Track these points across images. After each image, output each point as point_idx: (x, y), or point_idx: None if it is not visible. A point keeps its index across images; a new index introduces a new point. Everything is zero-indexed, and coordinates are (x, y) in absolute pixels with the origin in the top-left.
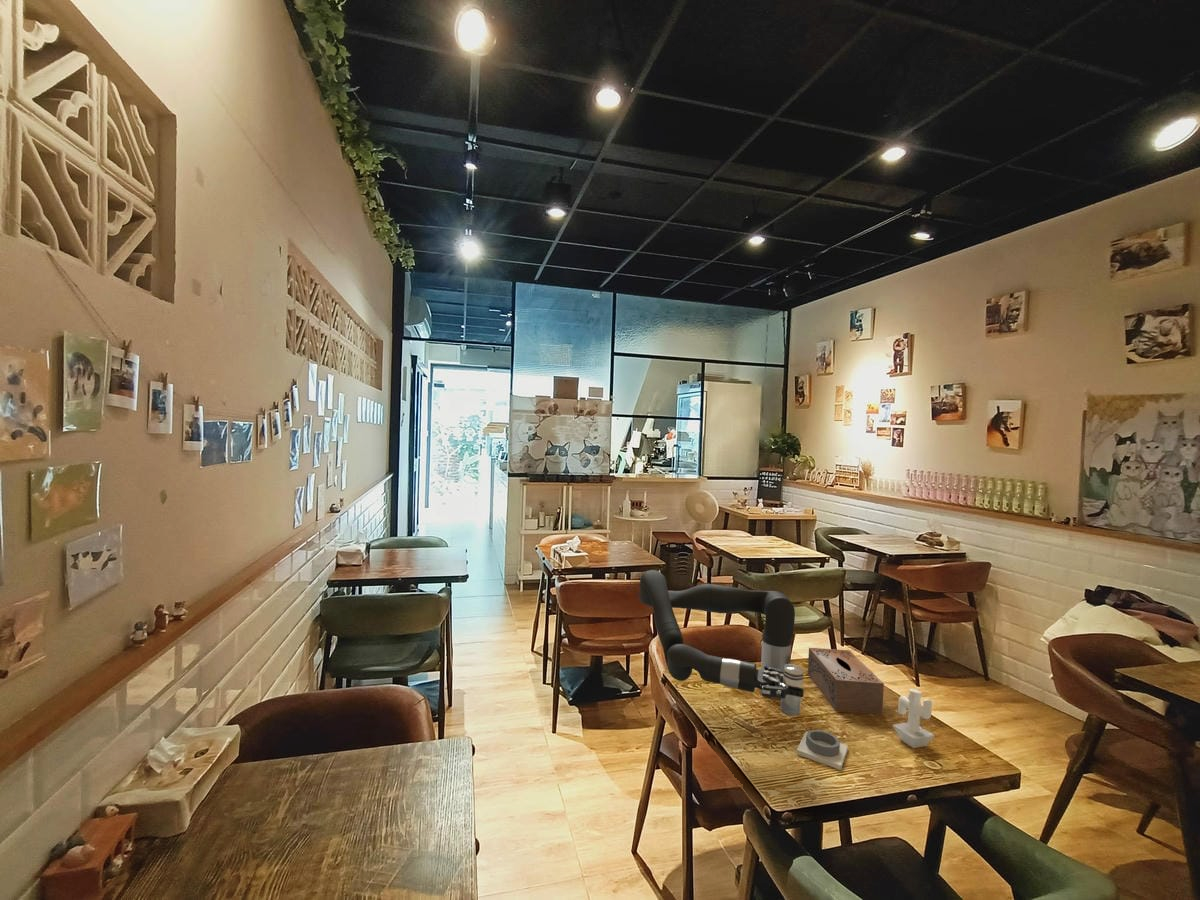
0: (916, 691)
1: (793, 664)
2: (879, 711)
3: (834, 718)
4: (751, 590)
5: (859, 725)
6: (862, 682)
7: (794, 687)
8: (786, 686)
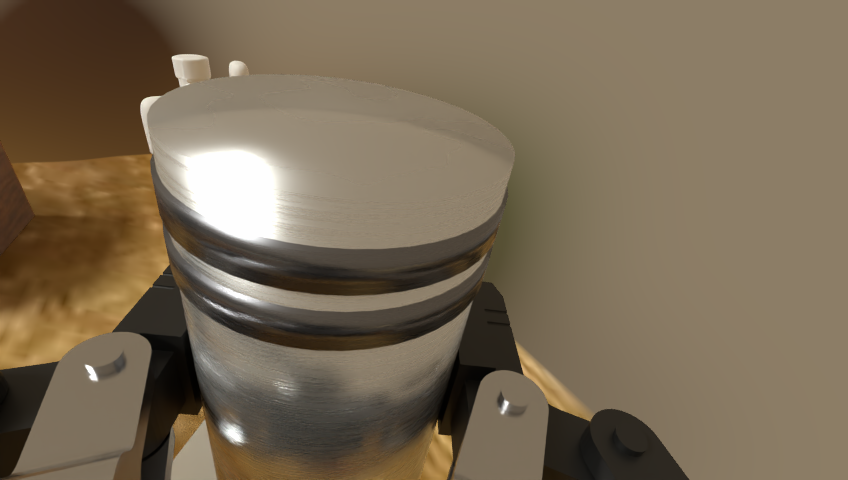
0: (194, 56)
1: (188, 92)
2: (26, 213)
3: (13, 341)
4: None
5: (98, 279)
6: None
7: (476, 315)
8: (532, 395)
